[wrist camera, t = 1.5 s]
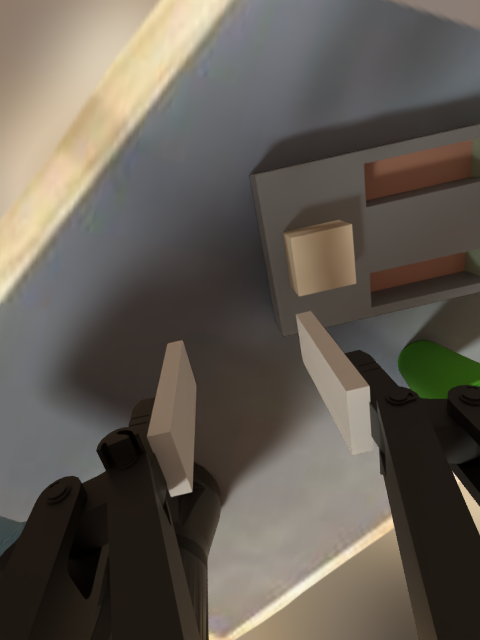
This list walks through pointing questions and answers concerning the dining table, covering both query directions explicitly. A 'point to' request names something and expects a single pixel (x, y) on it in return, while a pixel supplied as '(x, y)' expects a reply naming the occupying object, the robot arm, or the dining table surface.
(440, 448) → the robot arm
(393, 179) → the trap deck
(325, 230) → the block
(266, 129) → the dining table surface
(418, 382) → the cup
